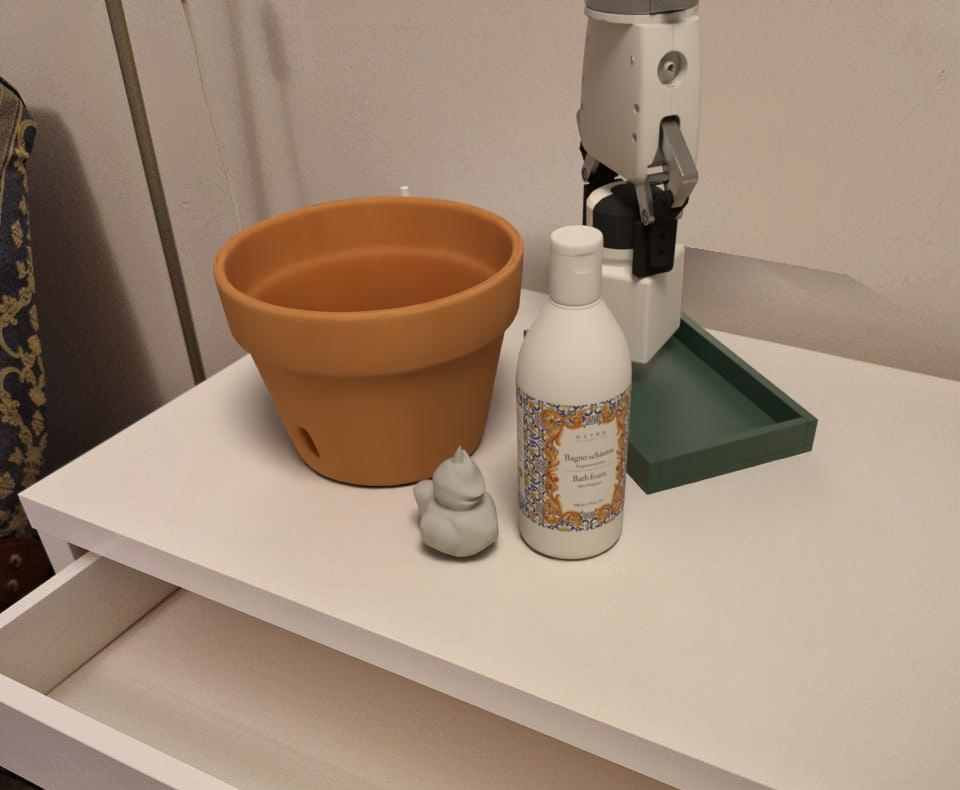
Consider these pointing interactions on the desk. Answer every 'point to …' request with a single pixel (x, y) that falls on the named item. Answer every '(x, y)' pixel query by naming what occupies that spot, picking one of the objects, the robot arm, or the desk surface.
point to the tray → (706, 414)
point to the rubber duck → (456, 508)
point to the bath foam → (573, 408)
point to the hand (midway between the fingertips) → (625, 251)
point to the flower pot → (375, 327)
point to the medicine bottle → (632, 301)
